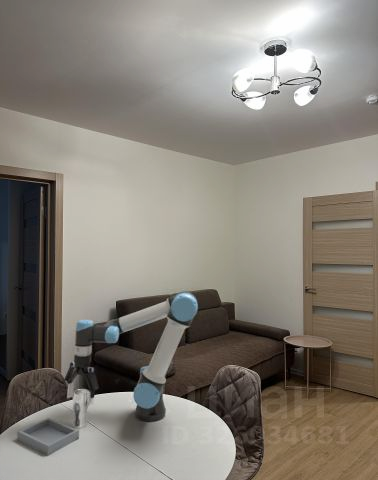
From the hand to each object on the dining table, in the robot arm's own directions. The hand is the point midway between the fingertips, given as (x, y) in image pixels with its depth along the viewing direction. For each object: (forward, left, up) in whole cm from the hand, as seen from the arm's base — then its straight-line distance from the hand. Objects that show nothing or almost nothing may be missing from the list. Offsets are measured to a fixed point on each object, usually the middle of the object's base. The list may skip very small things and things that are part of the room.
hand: (79, 400), depth 159 cm
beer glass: (0, 0, -11) cm, 11 cm away
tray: (+1, +16, -11) cm, 19 cm away
